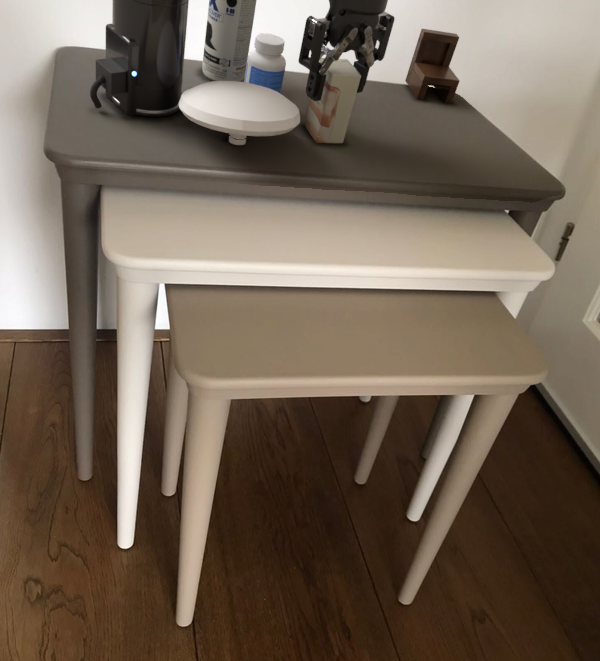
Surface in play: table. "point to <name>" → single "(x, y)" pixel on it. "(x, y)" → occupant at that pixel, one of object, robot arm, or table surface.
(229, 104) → the white domed disc
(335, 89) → the cream cosmetic box
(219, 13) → the spray can
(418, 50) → the miniature wooden chair
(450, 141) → the table surface
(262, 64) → the pill bottle
